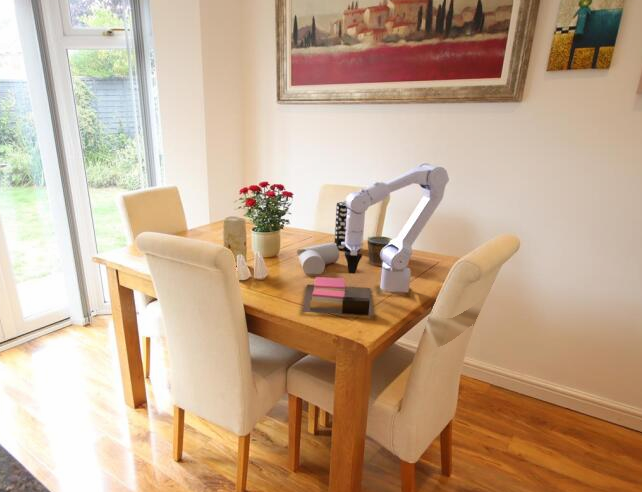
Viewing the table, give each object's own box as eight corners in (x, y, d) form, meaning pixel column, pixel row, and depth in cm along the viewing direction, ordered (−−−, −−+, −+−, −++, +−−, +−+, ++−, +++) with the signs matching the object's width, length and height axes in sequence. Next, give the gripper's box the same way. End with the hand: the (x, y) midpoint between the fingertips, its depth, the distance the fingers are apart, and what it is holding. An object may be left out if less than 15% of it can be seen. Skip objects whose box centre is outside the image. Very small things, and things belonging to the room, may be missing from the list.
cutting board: (369, 290, 162) (370, 287, 161) (374, 319, 141) (374, 316, 141) (307, 287, 166) (307, 284, 166) (302, 314, 145) (302, 311, 145)
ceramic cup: (396, 265, 186) (398, 241, 182) (375, 268, 182) (377, 244, 178) (376, 255, 197) (378, 233, 193) (356, 259, 193) (358, 236, 189)
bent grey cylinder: (291, 257, 194) (296, 274, 175) (297, 233, 189) (303, 248, 171) (331, 265, 195) (341, 282, 177) (338, 241, 191) (349, 256, 173)
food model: (248, 262, 193) (247, 215, 185) (245, 268, 187) (244, 219, 179) (225, 261, 195) (224, 215, 187) (221, 266, 189) (219, 219, 181)
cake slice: (344, 302, 150) (345, 291, 149) (343, 308, 146) (343, 296, 145) (313, 299, 153) (314, 288, 151) (311, 305, 149) (312, 294, 147)
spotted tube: (330, 246, 211) (333, 202, 203) (347, 244, 213) (349, 201, 205) (339, 251, 203) (342, 206, 196) (356, 249, 206) (359, 205, 198)
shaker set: (268, 277, 176) (268, 249, 172) (268, 281, 173) (268, 253, 168) (237, 276, 178) (236, 249, 173) (236, 280, 174) (235, 252, 169)
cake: (344, 289, 161) (344, 278, 159) (344, 298, 154) (344, 287, 152) (315, 287, 163) (315, 276, 161) (313, 296, 156) (314, 285, 154)
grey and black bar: (368, 311, 144) (369, 298, 142) (368, 314, 142) (369, 301, 140) (310, 307, 147) (310, 294, 146) (309, 310, 145) (310, 297, 143)
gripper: (342, 224, 157) (339, 261, 163) (342, 235, 144) (339, 276, 150) (363, 224, 156) (360, 262, 161) (365, 236, 143) (361, 277, 148)
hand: (351, 269), depth 155 cm, fingers open, 7 cm apart
